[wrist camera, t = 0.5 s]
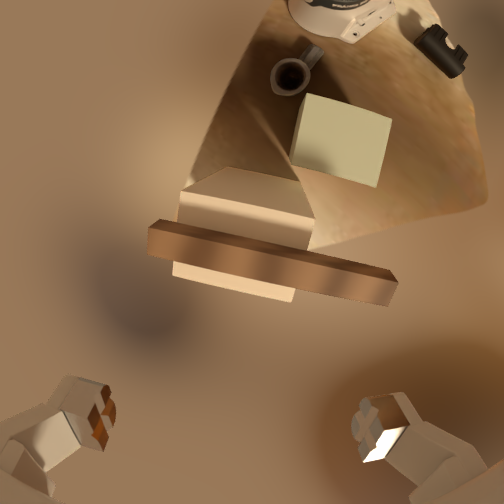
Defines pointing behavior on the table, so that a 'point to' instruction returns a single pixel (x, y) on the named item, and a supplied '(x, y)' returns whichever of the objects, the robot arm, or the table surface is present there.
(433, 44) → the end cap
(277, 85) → the pipe
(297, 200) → the tall stand
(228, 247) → the walnut bar
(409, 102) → the table surface
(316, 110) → the low stool
